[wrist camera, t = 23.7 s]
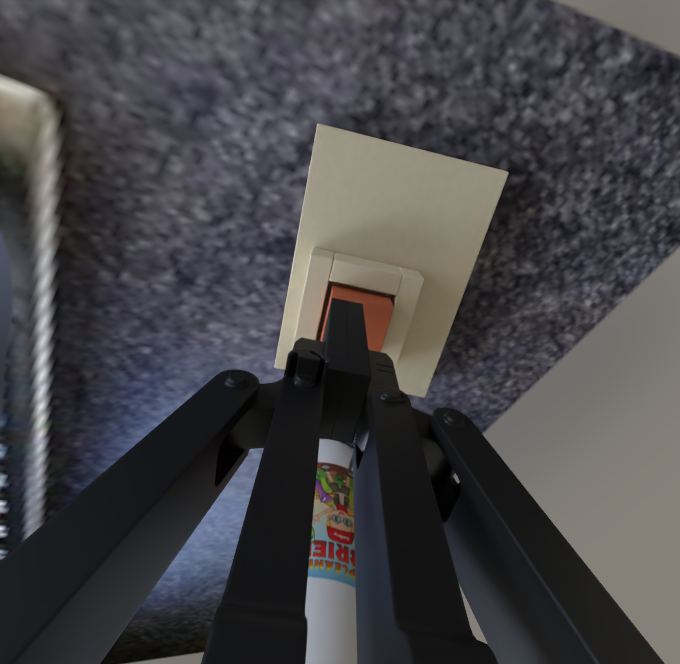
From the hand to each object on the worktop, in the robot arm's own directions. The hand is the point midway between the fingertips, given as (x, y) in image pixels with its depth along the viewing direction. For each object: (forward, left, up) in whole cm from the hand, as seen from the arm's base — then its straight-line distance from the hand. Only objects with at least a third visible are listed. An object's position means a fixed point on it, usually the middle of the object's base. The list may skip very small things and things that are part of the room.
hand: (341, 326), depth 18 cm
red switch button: (+1, +1, -3) cm, 3 cm away
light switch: (-1, +2, -7) cm, 7 cm away
